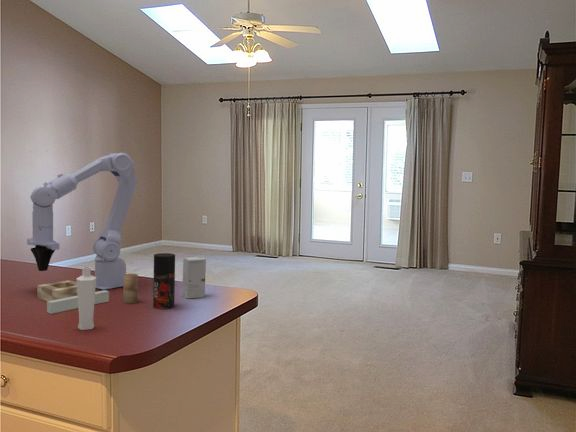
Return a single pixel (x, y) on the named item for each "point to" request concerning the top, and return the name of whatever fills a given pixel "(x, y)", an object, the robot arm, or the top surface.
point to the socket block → (56, 290)
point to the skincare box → (194, 277)
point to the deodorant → (164, 281)
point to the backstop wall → (74, 302)
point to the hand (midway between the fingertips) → (42, 270)
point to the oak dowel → (130, 288)
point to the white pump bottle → (86, 298)
